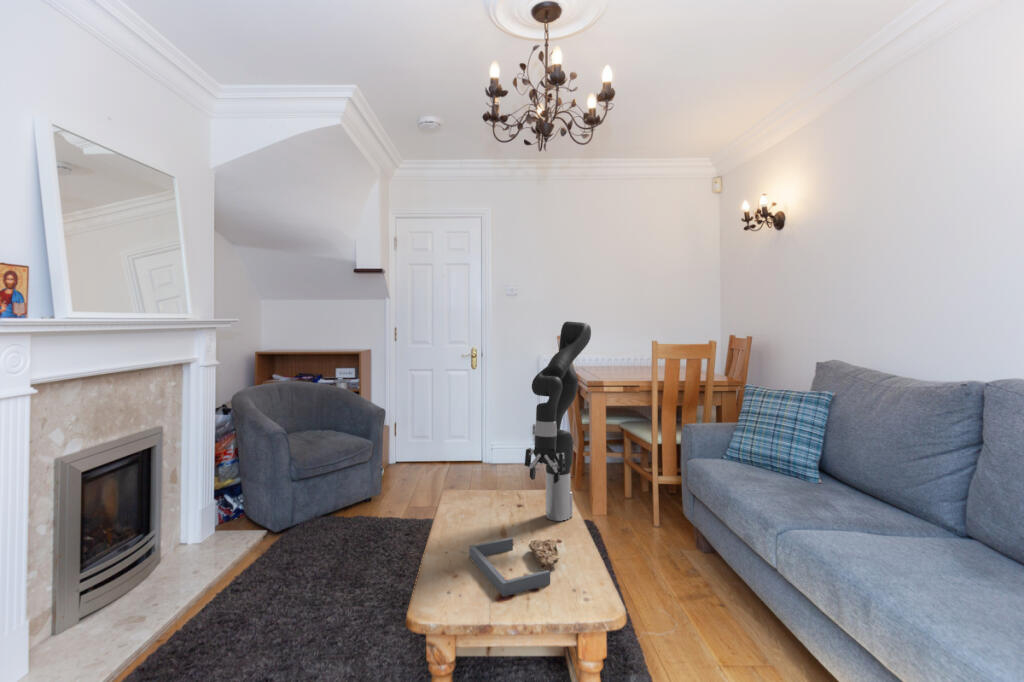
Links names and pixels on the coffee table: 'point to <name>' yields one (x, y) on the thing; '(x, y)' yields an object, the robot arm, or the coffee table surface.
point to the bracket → (496, 578)
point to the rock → (545, 553)
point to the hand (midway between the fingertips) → (544, 481)
